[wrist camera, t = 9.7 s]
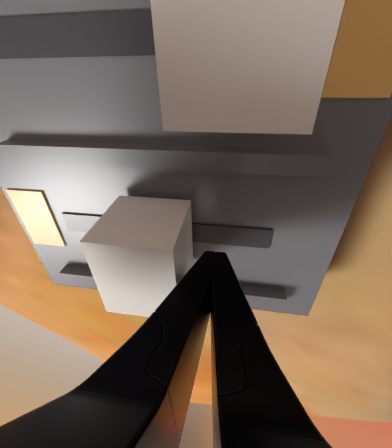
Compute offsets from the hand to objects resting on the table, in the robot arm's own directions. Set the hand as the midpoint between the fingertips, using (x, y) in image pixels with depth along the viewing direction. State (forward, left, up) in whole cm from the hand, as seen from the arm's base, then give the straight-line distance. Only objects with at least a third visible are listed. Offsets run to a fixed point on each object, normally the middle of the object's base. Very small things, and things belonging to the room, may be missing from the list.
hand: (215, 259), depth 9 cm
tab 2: (0, -7, -1) cm, 7 cm away
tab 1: (+3, 0, -1) cm, 3 cm away
